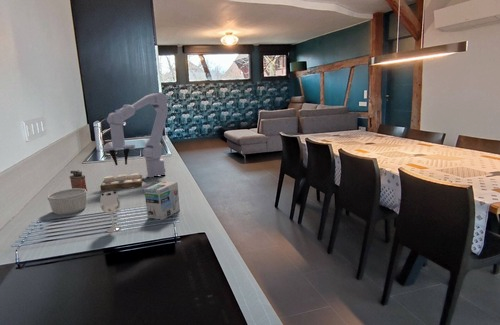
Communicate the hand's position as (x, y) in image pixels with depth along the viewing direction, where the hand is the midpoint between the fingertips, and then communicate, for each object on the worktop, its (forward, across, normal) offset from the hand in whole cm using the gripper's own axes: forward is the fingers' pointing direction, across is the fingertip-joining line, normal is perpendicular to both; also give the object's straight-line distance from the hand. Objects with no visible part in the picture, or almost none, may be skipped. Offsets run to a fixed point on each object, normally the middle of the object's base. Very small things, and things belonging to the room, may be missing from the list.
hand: (121, 164), depth 167 cm
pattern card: (+7, 0, -9) cm, 11 cm away
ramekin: (+10, -17, -36) cm, 41 cm away
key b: (+8, 0, -3) cm, 8 cm away
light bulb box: (+10, +18, -57) cm, 61 cm away
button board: (+9, 0, -4) cm, 10 cm away
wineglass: (+10, +2, -65) cm, 66 cm away
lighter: (+10, -19, -7) cm, 22 cm away
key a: (+8, +6, -3) cm, 10 cm away
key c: (+8, -6, -3) cm, 10 cm away
